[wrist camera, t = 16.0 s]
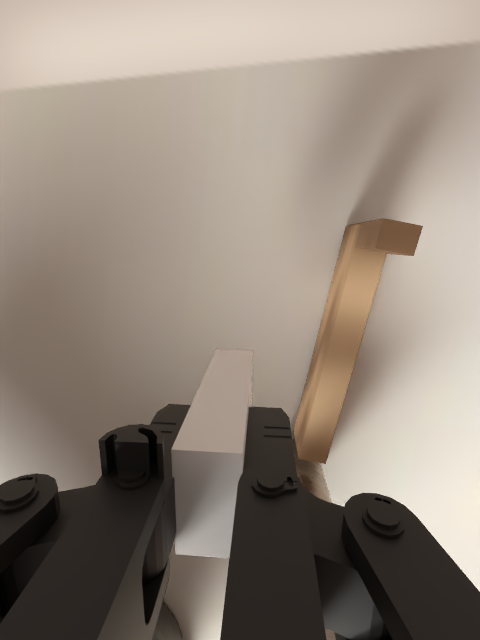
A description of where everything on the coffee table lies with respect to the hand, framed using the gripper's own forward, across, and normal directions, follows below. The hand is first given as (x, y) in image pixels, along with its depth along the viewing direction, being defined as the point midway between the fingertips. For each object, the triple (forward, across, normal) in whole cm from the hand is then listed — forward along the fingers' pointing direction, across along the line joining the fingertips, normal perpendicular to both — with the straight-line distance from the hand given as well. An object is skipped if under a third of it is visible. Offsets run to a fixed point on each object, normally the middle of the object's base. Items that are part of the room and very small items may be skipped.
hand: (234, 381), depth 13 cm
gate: (+8, +5, 0) cm, 10 cm away
